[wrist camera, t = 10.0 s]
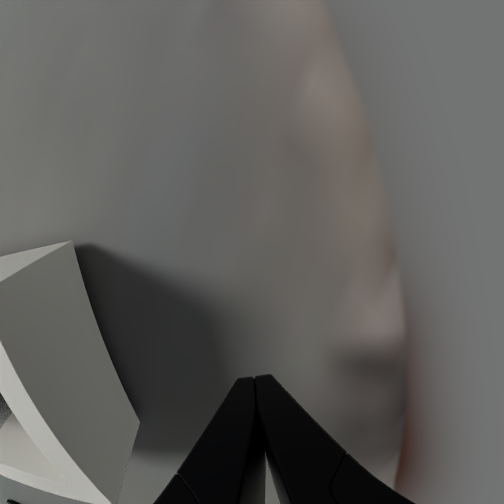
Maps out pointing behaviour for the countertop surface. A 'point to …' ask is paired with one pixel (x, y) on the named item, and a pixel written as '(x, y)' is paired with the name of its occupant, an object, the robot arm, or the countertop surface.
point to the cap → (59, 382)
